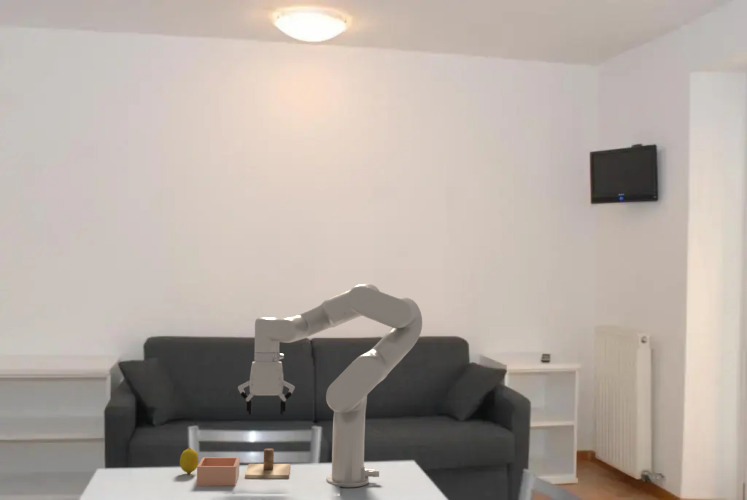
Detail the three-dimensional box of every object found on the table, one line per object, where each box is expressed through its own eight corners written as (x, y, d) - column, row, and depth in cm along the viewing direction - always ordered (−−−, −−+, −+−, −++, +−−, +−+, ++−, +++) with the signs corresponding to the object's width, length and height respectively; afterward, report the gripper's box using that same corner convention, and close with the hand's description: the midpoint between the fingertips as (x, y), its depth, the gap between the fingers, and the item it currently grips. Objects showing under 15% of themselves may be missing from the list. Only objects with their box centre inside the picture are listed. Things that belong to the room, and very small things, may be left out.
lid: (290, 467, 251) (290, 444, 251) (288, 478, 238) (289, 454, 238) (248, 466, 250) (249, 444, 250) (244, 478, 237) (245, 454, 237)
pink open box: (239, 477, 240) (239, 457, 240) (235, 487, 229) (235, 466, 229) (202, 477, 239) (202, 457, 239) (196, 487, 228) (197, 466, 228)
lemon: (193, 477, 239) (194, 450, 239) (176, 475, 240) (177, 449, 240) (201, 472, 244) (201, 446, 244) (184, 471, 245) (185, 445, 245)
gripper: (295, 356, 248) (295, 411, 248) (239, 356, 247) (239, 411, 247) (294, 359, 240) (294, 416, 240) (237, 359, 239) (236, 416, 239)
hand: (266, 413), depth 243 cm, fingers open, 9 cm apart
